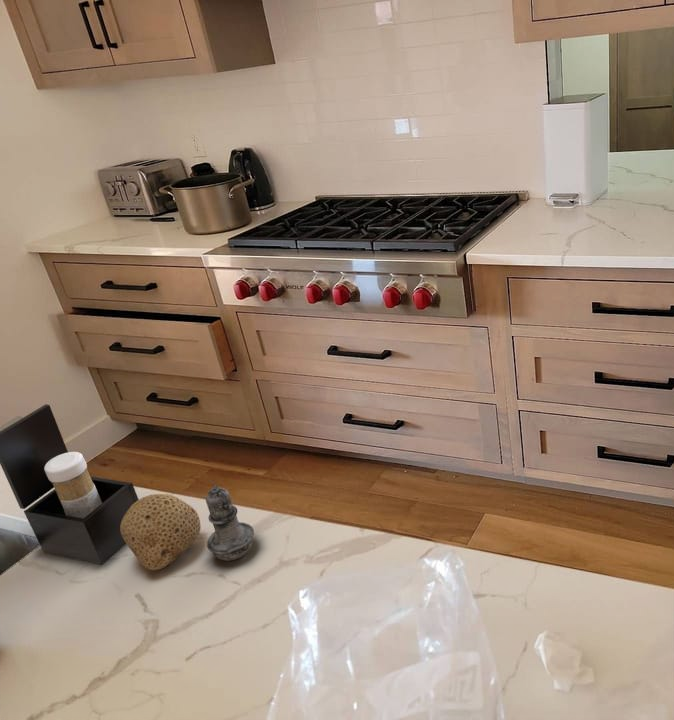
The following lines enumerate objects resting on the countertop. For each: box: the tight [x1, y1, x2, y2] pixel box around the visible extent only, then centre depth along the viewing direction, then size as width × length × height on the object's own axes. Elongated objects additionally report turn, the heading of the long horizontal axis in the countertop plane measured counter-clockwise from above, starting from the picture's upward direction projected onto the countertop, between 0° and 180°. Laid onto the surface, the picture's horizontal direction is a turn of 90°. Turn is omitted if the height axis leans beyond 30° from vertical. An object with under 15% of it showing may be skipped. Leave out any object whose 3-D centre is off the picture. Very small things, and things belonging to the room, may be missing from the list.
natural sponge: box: [120, 493, 201, 571], centre depth 88 cm, size 9×9×10 cm
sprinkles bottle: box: [44, 451, 102, 518], centre depth 92 cm, size 5×5×14 cm
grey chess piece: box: [205, 484, 255, 561], centre depth 87 cm, size 6×6×12 cm
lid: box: [0, 403, 69, 510], centre depth 91 cm, size 11×8×5 cm
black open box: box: [23, 476, 140, 566], centre depth 93 cm, size 10×8×8 cm
